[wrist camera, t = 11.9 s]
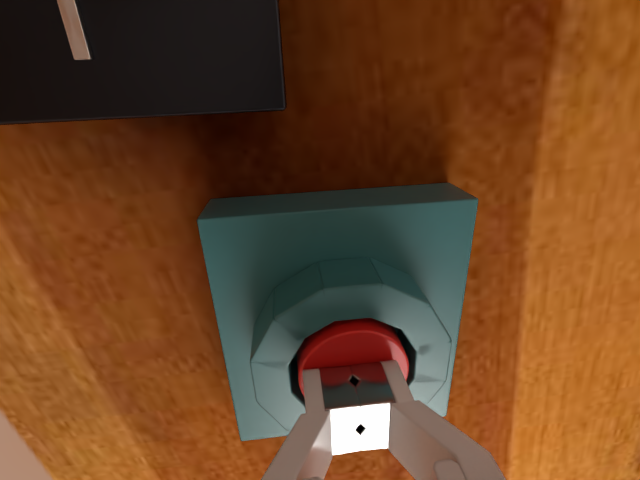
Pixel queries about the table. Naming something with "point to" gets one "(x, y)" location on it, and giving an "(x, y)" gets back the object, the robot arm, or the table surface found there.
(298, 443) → the robot arm
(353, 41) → the table surface
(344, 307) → the button housing
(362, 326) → the button
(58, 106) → the holder console
